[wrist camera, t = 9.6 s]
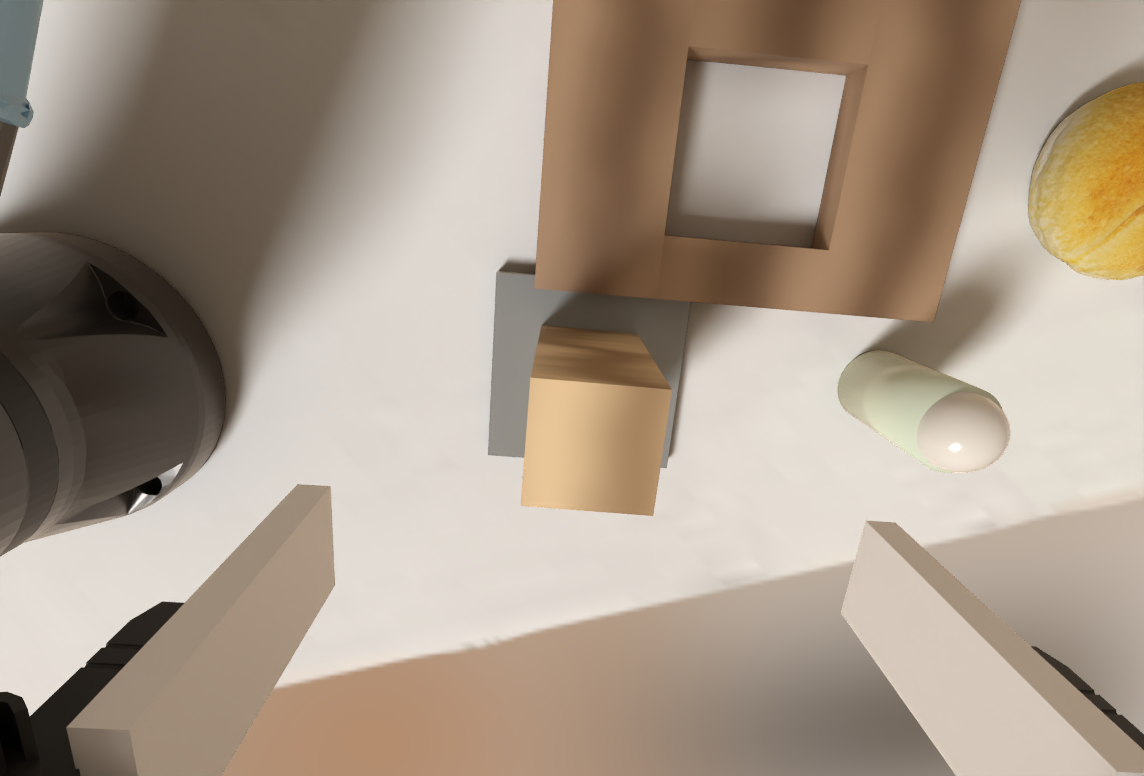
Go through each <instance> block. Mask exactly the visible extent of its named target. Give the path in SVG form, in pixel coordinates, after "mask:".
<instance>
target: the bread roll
mask: <svg viewBox="0 0 1144 776" xmlns="http://www.w3.org/2000/svg"><path fill="white" fill-rule="evenodd" d="M1028 214H1029V221H1030V225H1031V227H1032V229H1033V232H1034V233H1035V235H1036V237H1037V238H1038V240H1039V241H1040V243H1041V244H1042V246H1043V247H1044V248H1045V249H1046V250H1047V251H1048V252H1049V253H1050V254H1052V255H1053V256H1055V257H1056V258H1058V259H1060V260H1061V261H1063V262H1066V264H1067V265H1068V266H1069V267H1070V268H1071V269H1073V270H1074V271H1076V272H1078V273H1080V274H1083V275H1086V276H1090V277H1093V278H1099V279H1105V280H1109V279H1116V280H1125V279H1130V278H1134V277H1138V276H1142V275H1144V82H1140V83H1134V84H1130V85H1126V86H1123V87H1120V88H1117V89H1114V90H1112V91H1110V92H1108V93H1105V94H1103V95H1101V96H1099V97H1098V98H1096V99H1094V100H1092V101H1090V102H1088V103H1086V104H1085V105H1083V106H1082V107H1080V108H1079V109H1077V110H1076V111H1074V112H1073V113H1072V114H1070V115H1069V116H1068V117H1066V118H1065V119H1064V120H1063V121H1062V122H1061V123H1060V124H1059V125H1058V126H1057V128H1056V129H1055V130H1054V131H1053V132H1052V133H1051V135H1050V136H1049V138H1048V140H1047V141H1046V143H1045V145H1044V147H1043V148H1042V150H1041V152H1040V155H1039V157H1038V159H1037V161H1036V163H1035V166H1034V169H1033V172H1032V178H1031V184H1030V190H1029V204H1028Z"/></svg>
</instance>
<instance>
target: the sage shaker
mask: <svg viewBox="0 0 1144 776" xmlns="http://www.w3.org/2000/svg"><path fill="white" fill-rule="evenodd" d="M838 397H839V401H840V403H841V405H842V407H843V408H844V409H845V410H846V411H847V412H848V413H849V414H850V415H852V416H853V417H855V418H856V419H858V420H859V421H861V422H862V423H864V424H865V425H867V426H868V427H869V428H871V429H872V430H874V431H875V432H877V433H878V434H880V435H881V436H883V437H884V438H885V439H887V440H888V441H890V442H891V443H893V444H894V445H896V446H897V447H899V448H900V449H902V450H903V451H904V452H906V453H907V454H909V455H910V456H912V457H913V458H915V459H916V460H918V461H919V462H920V463H922V464H923V465H925V466H926V467H928V468H930V469H932V470H934V471H938V472H943V473H955V472H957V473H967V472H974V471H978V470H981V469H984V468H986V467H988V466H990V465H992V464H993V463H994V462H996V461H997V460H998V459H999V458H1000V457H1001V456H1002V455H1003V453H1004V452H1005V450H1006V448H1007V446H1008V443H1009V439H1010V427H1009V422H1008V420H1007V418H1006V416H1005V414H1004V412H1003V410H1002V407H1001V405H1000V403H999V402H998V401H997V399H996V398H995V397H994V396H993V395H991V394H990V393H988V392H986V391H984V390H982V389H980V388H977V387H975V386H972V385H970V384H967V383H965V382H963V381H960V380H958V379H955V378H953V377H950V376H948V375H946V374H943V373H941V372H938V371H936V370H933V369H931V368H928V367H926V366H924V365H921V364H919V363H916V362H914V361H911V360H909V359H907V358H904V357H902V356H899V355H897V354H894V353H892V352H889V351H883V350H876V351H870V352H867V353H864V354H862V355H860V356H858V357H857V358H855V359H854V360H853V361H851V362H850V363H849V364H848V365H847V367H846V368H845V369H844V371H843V373H842V374H841V377H840V379H839V383H838Z"/></svg>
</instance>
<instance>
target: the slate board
mask: <svg viewBox="0 0 1144 776" xmlns="http://www.w3.org/2000/svg"><path fill="white" fill-rule="evenodd" d="M534 286H535V274H529V273H518V272H506V271H497V273H496V295H495V316H494V338H493V359H492V381H491V402H490V424H489V446H488V455H496V456H509V457H523V458H524V456H525V443H526V429H527V416H528V403H529V389H530V377H531V372H532V368H533V363H534V358H535V353H536V349H537V344H538V339H539V335H540V330H541V325H546V326H557V327H568V328H579V329H590V330H601V331H613V332H624V333H635V334H638V336H639V337H640V339H641V341H642V342H643V344H644V345H645V347H646V349H647V350H648V352H649V354H650V355H651V357H652V358H653V360H654V362H655V363H656V365H657V366H658V368H659V370H660V371H661V373H662V374H663V376H664V378H665V379H666V381H667V382H668V384H669V386H670V387H671V389H672V394H671V400H670V407H669V414H668V420H667V427H666V433H665V440H664V447H663V453H662V460H661V467H660V468H667V462H668V455H669V448H670V442H671V435H672V428H673V421H674V414H675V407H676V400H677V394H678V387H679V380H680V373H681V366H682V359H683V352H684V346H685V339H686V332H687V325H688V318H689V311H690V305H691V302H688V301H676V300H665V299H653V298H641V297H629V296H617V295H605V294H594V293H582V292H570V291H558V290H546V289H534Z"/></svg>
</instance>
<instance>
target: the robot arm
mask: <svg viewBox="0 0 1144 776" xmlns="http://www.w3.org/2000/svg"><path fill="white" fill-rule="evenodd" d="M42 5H43V0H0V196H1V192H2V188H3V184H4V181H5V177H6V173H7V169H8V165H9V162H10V158H11V154H12V150H13V146H14V143H15V139H16V135H17V131H18V127H22V128H25V127H26V126H28V125H29V124H30V122H31V120H32V118H33V110H32V107H31V105H30V103H29V101H28V100H27V99H26V96H27V90H28V84H29V78H30V73H31V67H32V61H33V55H34V50H35V44H36V38H37V33H38V27H39V21H40V16H41V11H42ZM224 412H225V387H224V380H223V375H222V370H221V366H220V363H219V359H218V356H217V354H216V351H215V348H214V346H213V344H212V342H211V339H210V337H209V335H208V334H207V332H206V330H205V328H204V326H203V325H202V323H201V322H200V320H199V318H198V317H197V316H196V314H195V313H194V311H193V310H192V309H191V307H190V306H189V305H188V304H187V302H186V301H185V300H184V299H183V298H182V297H181V296H180V294H179V293H178V292H177V291H176V290H175V289H174V288H173V287H172V286H171V285H170V284H169V283H167V282H166V281H165V280H164V279H163V278H162V277H160V276H159V275H158V274H157V273H156V272H154V271H153V270H151V269H150V268H149V267H147V266H146V265H144V264H143V263H141V262H140V261H138V260H137V259H135V258H133V257H131V256H130V255H128V254H126V253H124V252H122V251H120V250H118V249H116V248H114V247H111V246H109V245H107V244H104V243H101V242H98V241H95V240H92V239H89V238H85V237H81V236H77V235H71V234H65V233H57V232H26V233H0V556H2V555H3V554H5V553H7V552H8V551H10V550H12V549H14V548H15V547H17V546H19V545H21V544H22V543H24V542H28V541H32V540H36V539H39V538H43V537H47V536H51V535H55V534H58V533H62V532H66V531H70V530H74V529H78V528H81V527H85V526H89V525H93V524H97V523H100V522H104V521H108V520H112V519H116V518H120V517H123V516H126V515H129V514H132V513H134V512H137V511H139V510H141V509H144V508H146V507H148V506H149V505H151V504H153V503H155V502H157V501H158V500H160V499H161V498H163V497H164V496H166V495H167V494H169V493H170V492H171V491H173V490H174V489H176V488H177V487H179V486H180V485H182V484H183V483H184V482H186V481H187V480H188V479H190V478H191V477H192V476H193V475H194V474H195V473H196V472H197V471H198V470H199V469H200V468H201V467H202V466H203V464H204V463H205V462H206V460H207V459H208V458H209V456H210V454H211V453H212V451H213V449H214V447H215V445H216V443H217V440H218V438H219V435H220V432H221V429H222V425H223V419H224ZM334 586H335V576H334V553H333V531H332V508H331V486H315V485H300V484H298V485H297V486H296V487H295V488H294V489H293V490H292V491H291V492H290V493H289V494H288V495H287V496H286V497H285V498H284V499H283V500H282V501H281V502H280V503H279V505H278V506H277V507H276V508H275V509H274V510H273V511H272V512H271V513H270V514H269V515H268V516H267V517H266V518H265V519H264V520H263V521H262V522H261V523H260V524H259V526H258V527H257V528H256V529H255V530H254V531H253V532H252V533H251V534H250V535H249V536H248V537H247V538H246V539H245V540H244V541H243V542H242V543H241V544H240V545H239V547H238V548H237V549H236V550H235V551H234V552H233V553H232V554H231V555H230V556H229V557H228V558H227V559H226V560H225V561H224V562H223V563H222V564H221V565H220V566H219V568H218V569H217V570H216V571H215V572H214V573H213V574H212V575H211V576H210V577H209V578H208V579H207V580H206V581H205V582H204V583H203V584H202V585H201V586H200V587H199V589H198V590H197V591H196V592H195V593H194V594H193V595H192V596H191V597H190V598H189V599H188V600H187V601H186V602H185V603H176V602H161V603H159V604H158V605H156V606H154V607H152V608H151V609H149V610H147V611H146V612H144V613H142V614H141V615H139V616H137V617H135V618H134V619H132V620H130V621H129V622H128V623H127V624H126V625H125V626H124V627H123V628H122V629H121V630H120V631H119V632H118V633H117V634H116V635H115V636H114V637H113V638H112V639H111V640H109V641H108V642H107V644H106V647H105V648H101V649H100V650H99V651H98V652H97V653H96V654H95V655H94V656H93V657H92V658H91V659H90V660H89V661H88V662H86V666H85V668H80V669H79V670H78V671H77V672H76V673H75V674H74V675H73V676H72V677H71V678H70V679H69V680H68V681H67V682H66V683H65V684H63V685H62V686H61V687H60V688H59V689H58V690H57V691H56V692H55V693H54V694H53V695H52V696H51V697H50V698H49V699H48V700H47V701H46V702H45V703H44V704H43V705H42V706H41V707H39V708H38V709H37V710H36V711H35V712H34V713H33V714H32V715H31V716H30V717H29V713H28V709H27V706H26V704H25V702H24V700H23V698H22V697H20V696H17V695H14V694H12V693H9V692H0V776H221V775H222V774H223V772H224V770H225V769H226V767H227V765H228V764H229V762H230V760H231V759H232V757H233V755H234V754H235V752H236V750H237V749H238V747H239V745H240V744H241V742H242V740H243V738H244V737H245V735H246V733H247V731H248V730H249V728H250V727H251V725H252V723H253V722H254V720H255V718H256V717H257V715H258V713H259V712H260V710H261V708H262V707H263V705H264V703H265V702H266V700H267V698H268V696H269V695H270V693H271V691H272V690H273V688H274V686H275V685H276V683H277V681H278V680H279V678H280V676H281V675H282V673H283V671H284V670H285V668H286V666H287V665H288V663H289V661H290V660H291V658H292V656H293V655H294V653H295V651H296V649H297V648H298V646H299V644H300V643H301V641H302V639H303V638H304V636H305V634H306V633H307V631H308V629H309V628H310V626H311V624H312V623H313V621H314V619H315V618H316V616H317V614H318V613H319V611H320V609H321V607H322V606H323V604H324V602H325V601H326V599H327V597H328V596H329V594H330V592H331V591H332V589H333V587H334ZM841 614H842V615H843V617H844V618H845V619H846V621H847V622H848V624H849V625H850V626H851V628H852V629H853V631H854V632H855V634H856V635H857V637H858V638H859V639H860V641H861V642H862V643H863V645H864V646H865V648H866V649H867V650H868V652H869V653H870V655H871V656H872V658H873V659H874V661H875V662H876V663H877V665H878V666H879V668H880V669H881V670H882V672H883V673H884V675H885V676H886V677H887V679H888V680H889V682H890V683H891V684H892V686H893V687H894V689H895V690H896V692H897V693H898V694H899V696H900V697H901V699H902V700H903V701H904V703H905V704H906V706H907V707H908V708H909V710H910V711H911V713H912V714H913V715H914V717H915V718H916V720H917V721H918V723H919V724H920V725H921V727H922V728H923V730H924V731H925V732H926V734H927V735H928V737H929V738H930V739H931V741H932V742H933V744H934V745H935V746H936V748H937V749H938V751H939V752H940V754H941V755H942V756H943V758H944V759H945V761H946V762H947V763H948V765H949V766H950V768H951V769H952V770H953V772H954V773H955V775H956V776H1144V734H1143V733H1142V732H1140V731H1139V730H1138V729H1137V728H1136V727H1135V726H1134V725H1133V724H1131V723H1130V722H1129V721H1128V720H1127V719H1126V718H1124V716H1122V715H1118V714H1117V713H1116V709H1115V708H1113V707H1112V706H1111V705H1110V704H1109V703H1108V702H1107V701H1106V700H1104V699H1103V698H1102V697H1101V696H1100V695H1095V693H1094V690H1093V689H1092V688H1091V687H1090V686H1089V685H1087V684H1086V683H1085V682H1084V681H1083V680H1082V679H1081V678H1080V677H1079V676H1077V675H1076V674H1075V673H1074V672H1073V671H1072V670H1071V669H1070V668H1068V667H1067V666H1065V665H1064V664H1062V663H1061V662H1059V661H1058V660H1056V659H1054V658H1053V657H1051V656H1050V655H1048V654H1046V653H1045V652H1043V651H1042V650H1040V649H1039V648H1037V647H1031V646H1029V645H1028V644H1027V643H1026V642H1025V641H1024V640H1023V639H1022V638H1020V636H1019V635H1017V634H1016V633H1015V632H1014V631H1013V630H1012V629H1011V628H1010V627H1009V626H1008V625H1007V624H1005V623H1004V622H1003V621H1002V620H1001V619H1000V618H999V617H998V616H997V615H995V613H993V612H992V611H991V610H990V609H989V608H988V607H987V606H986V605H985V604H984V603H982V602H981V601H980V600H979V599H978V598H977V597H976V596H975V595H974V594H973V593H971V591H969V590H968V589H967V588H966V587H965V586H964V585H963V584H962V583H961V582H960V581H959V580H957V579H956V578H955V577H954V576H953V575H952V574H951V573H950V572H949V571H948V570H946V569H945V568H944V567H943V566H942V565H941V564H940V563H939V562H938V561H937V560H936V559H935V558H933V557H932V556H931V555H930V554H929V553H928V552H927V551H926V550H925V549H924V548H923V547H921V546H920V545H919V544H918V543H917V542H916V541H915V540H914V539H913V538H912V537H910V536H909V535H908V534H907V533H906V532H905V531H904V530H903V529H902V528H901V527H900V526H898V525H897V524H896V523H892V522H877V521H866V522H865V525H864V529H863V533H862V536H861V540H860V544H859V548H858V551H857V555H856V559H855V563H854V566H853V570H852V574H851V577H850V581H849V585H848V589H847V592H846V596H845V600H844V603H843V607H842V611H841Z"/></svg>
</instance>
